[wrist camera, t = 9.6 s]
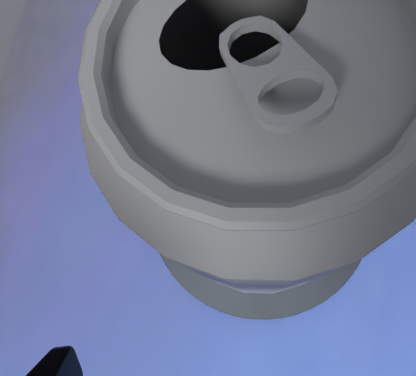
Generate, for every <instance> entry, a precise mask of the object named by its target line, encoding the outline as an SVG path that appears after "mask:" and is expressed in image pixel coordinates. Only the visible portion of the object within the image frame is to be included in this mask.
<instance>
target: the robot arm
mask: <svg viewBox="0 0 416 376" xmlns="http://www.w3.org/2000/svg"><path fill="white" fill-rule="evenodd" d="M26 376H83V372H82V369H81V366H80V363H79V361H78V358H77V356H76V353H75V350H74V348H73V347H71V346H63V347H55V348H53V349H51V350H50V351H49V352H48V353H47V354H46V355H45V356H44V357H43V358H42V359H41V361H40V362H39V363H38V364H37V365H36V366H35V367H34V368H33V369H32V370H31V371H30V372H29V373H28V374H27V375H26Z"/></svg>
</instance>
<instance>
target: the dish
mask: <svg viewBox="0 0 416 376" xmlns="http://www.w3.org/2000/svg"><path fill="white" fill-rule="evenodd" d="M159 253H160V252H159ZM160 255H161V257H162V259H163V261H164V263H165V265H166V266H167V268H168V269H169V271H170V272H171V274H172V275H173V276H174V278H175V279H176V280H177V281H178V282H179V283H180V284H181V285H182V287H183V288H185V289H186V290H187V291H188V292H189V293H190V294H192V295H193V296H194V297H195V298H197V299H198V300H200V301H201V302H203V303H204V304H206V305H208V306H210V307H212V308H214V309H216V310H218V311H220V312H223V313H227V314H230V315H233V316H237V317H242V318H248V319H276V318H284V317H288V316H292V315H296V314H299V313H302V312H304V311H307V310H309V309H312V308H313V307H315V306H317V305H319V304H320V303H322V302H324V301H326V300H327V299H328V298H329V297H331V296H332V295H333V294H335V293H336V292H337V291H338V290H339V289H340V288H341V287H342V286H343V285H344V284H345V283H346V282H347V281H348V280H349V278H350V277H351V276H352V274H353V273H354V271H355V270H356V269H357V267H358V265H359V263H360V261H361V260H359V261H357V262H355V263H352V264H350V265H347V266H345V267H343V268H340V269H338V270H336V271H333V272H331V273H329V274H326V275H324V276H322V277H319V278H317V279H315V280H312V281H310V282H308V283H305V284H303V285H300V286H297V287H294V288H290V289H287V290H284V291H280V292H277V293H274V294H266V293H243V292H240V291H238V290H235V289H232V288H229V287H227V286H224V285H221V284H218V283H216V282H214V281H212V280H210V279H208V278H206V277H204V276H202V275H200V274H198V273H196V272H194V271H192V270H190V269H188V268H186V267H184V266H182V265H180V264H178V263H176V262H174V261H172V260H170V259H168V258H166V257H164V256H163V255H162V254H161V253H160Z"/></svg>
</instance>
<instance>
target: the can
mask: <svg viewBox="0 0 416 376" xmlns="http://www.w3.org/2000/svg"><path fill="white" fill-rule="evenodd" d="M78 82H79V86H80V91H81V96H82V100H83V101H82V109H81V116H80V127H81V131H82V136H83V141H84V146H85V151H86V156H87V161H88V166H89V170H90V174H91V175H92V177H93V179H94V180H95V182H96V183H97V185H98V187H99V188H100V190H101V192H102V193H103V195H104V197H105V198H106V200H107V201H108V203H109V205H110V206H111V208H112V210H113V211H114V213H115V214H116V216H117V218H118V219H119V220H120V221H121V222H122V223H123V224H125V225H126V226H127V227H128V228H130V229H131V230H132V231H133V232H135V233H136V234H137V235H138V236H140V237H141V238H142V239H143V240H145V241H146V242H147V243H148V244H150V245H151V246H152V247H153V248H155V249H156V250H157V251H158V252H160V253H161V254H162V255H163V256H164V257H166V258H168V259H170V260H172V261H174V262H176V263H178V264H180V265H182V266H184V267H186V268H188V269H190V270H192V271H194V272H196V273H198V274H200V275H202V276H204V277H206V278H208V279H210V280H212V281H214V282H216V283H218V284H221V285H224V286H227V287H229V288H232V289H235V290H238V291H240V292H243V293H266V294H274V293H277V292H280V291H284V290H287V289H290V288H294V287H297V286H300V285H303V284H305V283H308V282H310V281H312V280H315V279H317V278H319V277H322V276H324V275H326V274H329V273H331V272H333V271H336V270H338V269H340V268H343V267H345V266H347V265H350V264H352V263H355V262H357V261H359V260H361V259H362V258H363V257H365V256H366V255H367V254H369V253H370V252H372V251H373V250H374V249H376V248H377V247H378V246H380V245H381V244H383V243H384V242H385V241H387V240H388V239H389V238H391V237H392V236H394V235H395V234H396V233H398V232H399V231H400V230H402V229H403V228H405V227H406V226H407V225H409V224H410V223H411V222H413V221H414V219H415V218H416V0H100V2H99V4H98V6H97V8H96V10H95V12H94V14H93V16H92V18H91V20H90V22H89V24H88V26H87V28H86V30H85V34H84V41H83V48H82V55H81V62H80V69H79V77H78Z"/></svg>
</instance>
